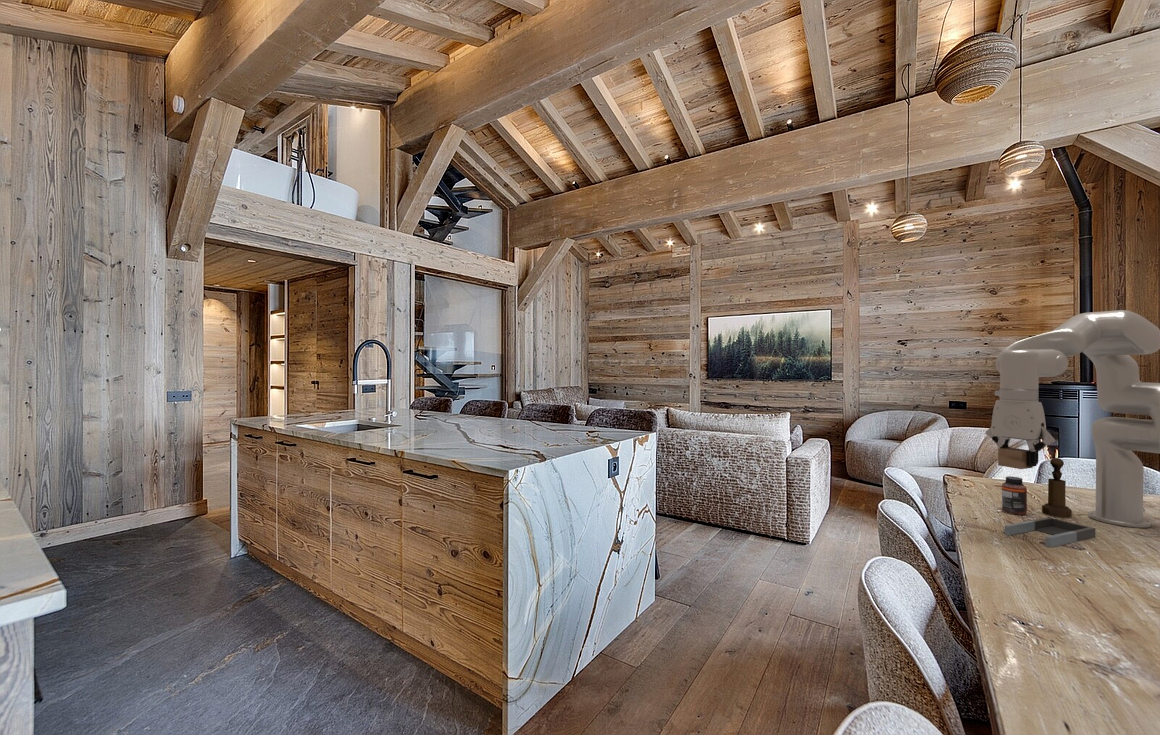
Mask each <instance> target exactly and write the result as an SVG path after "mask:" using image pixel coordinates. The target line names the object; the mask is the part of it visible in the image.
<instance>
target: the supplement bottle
mask: <svg viewBox="0 0 1160 735" xmlns="http://www.w3.org/2000/svg"><path fill="white" fill-rule="evenodd" d="M1027 502H1028V489H1027V486H1026V485H1025V484H1024V483H1023V478H1022V477H1018V476H1011V475H1008V476H1007V475H1006V476H1005V481H1004V482H1003V483H1002V484H1001V510H1002V511H1003V512H1005V513H1006V512H1007V514H1010V513H1011V515H1017V516H1024V515H1027V513H1028V503H1027Z"/></svg>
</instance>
